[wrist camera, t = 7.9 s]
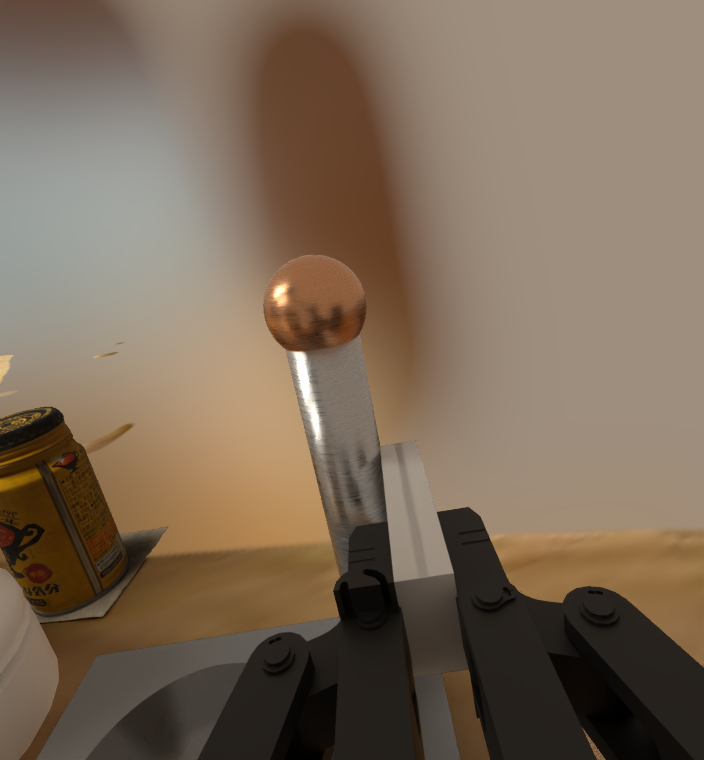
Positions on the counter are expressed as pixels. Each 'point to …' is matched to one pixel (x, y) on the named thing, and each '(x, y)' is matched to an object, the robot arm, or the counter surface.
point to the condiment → (61, 521)
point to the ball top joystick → (332, 468)
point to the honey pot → (22, 671)
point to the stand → (172, 661)
